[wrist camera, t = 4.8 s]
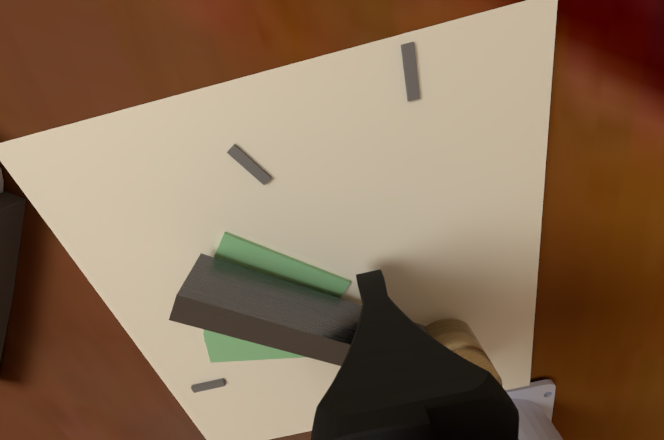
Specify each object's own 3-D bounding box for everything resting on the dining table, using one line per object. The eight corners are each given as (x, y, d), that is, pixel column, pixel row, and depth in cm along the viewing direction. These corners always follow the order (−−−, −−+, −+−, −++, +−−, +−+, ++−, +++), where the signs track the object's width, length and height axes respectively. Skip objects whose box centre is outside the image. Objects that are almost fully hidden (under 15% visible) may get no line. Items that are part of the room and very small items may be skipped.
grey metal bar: (484, 328, 16) (516, 377, 13) (450, 366, 17) (475, 418, 14) (207, 234, 13) (181, 276, 10) (189, 289, 14) (162, 339, 11)
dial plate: (519, 370, 20) (531, 388, 19) (218, 434, 21) (213, 454, 20) (538, -3, 11) (562, -10, 10) (12, 140, 12) (-17, 147, 11)
